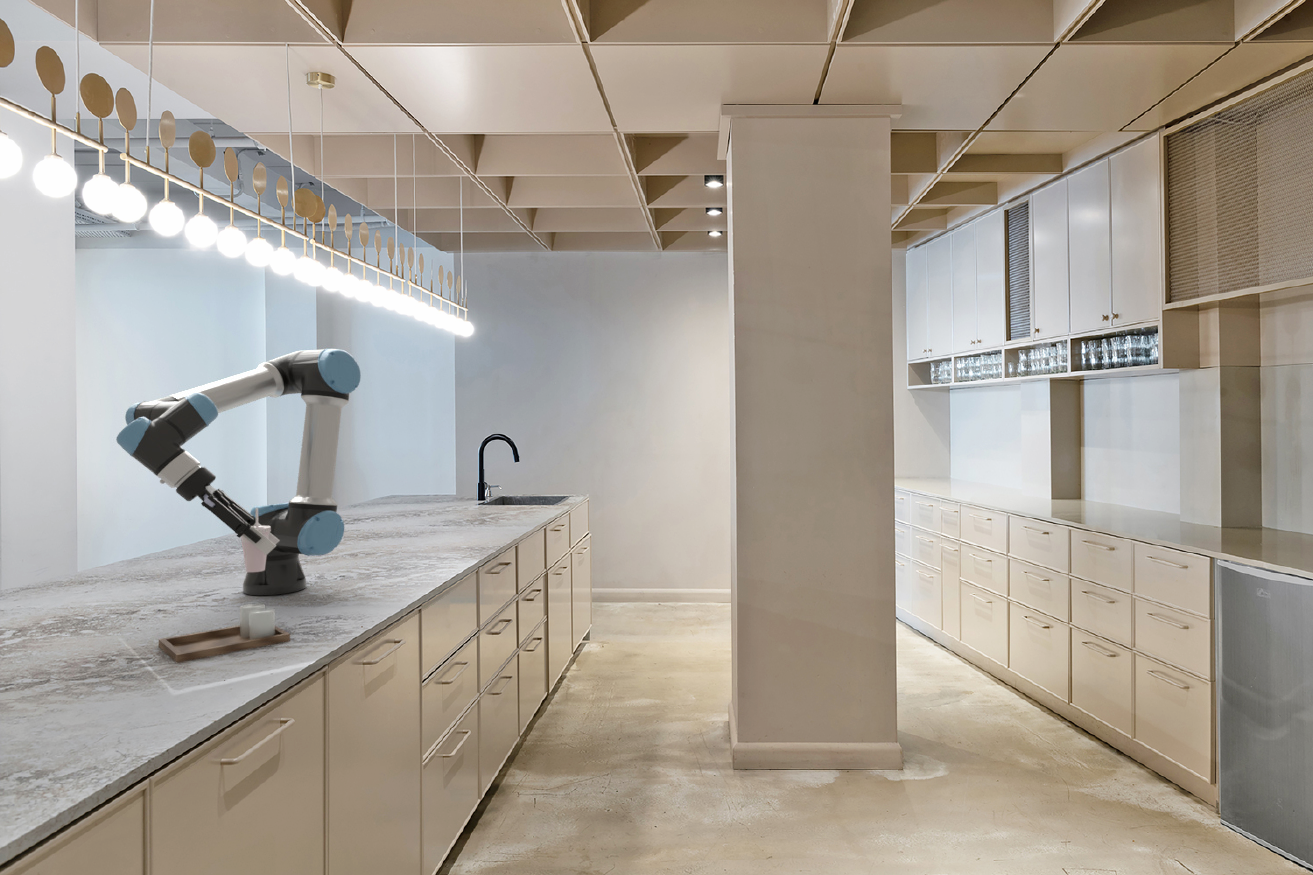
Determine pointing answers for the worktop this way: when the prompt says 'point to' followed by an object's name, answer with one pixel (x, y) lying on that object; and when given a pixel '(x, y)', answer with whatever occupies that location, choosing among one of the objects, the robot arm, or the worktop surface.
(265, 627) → the white domed cylinder
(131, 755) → the worktop surface
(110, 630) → the worktop surface
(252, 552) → the smoothie
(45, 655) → the worktop surface
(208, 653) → the tray
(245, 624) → the white rounded cylinder
